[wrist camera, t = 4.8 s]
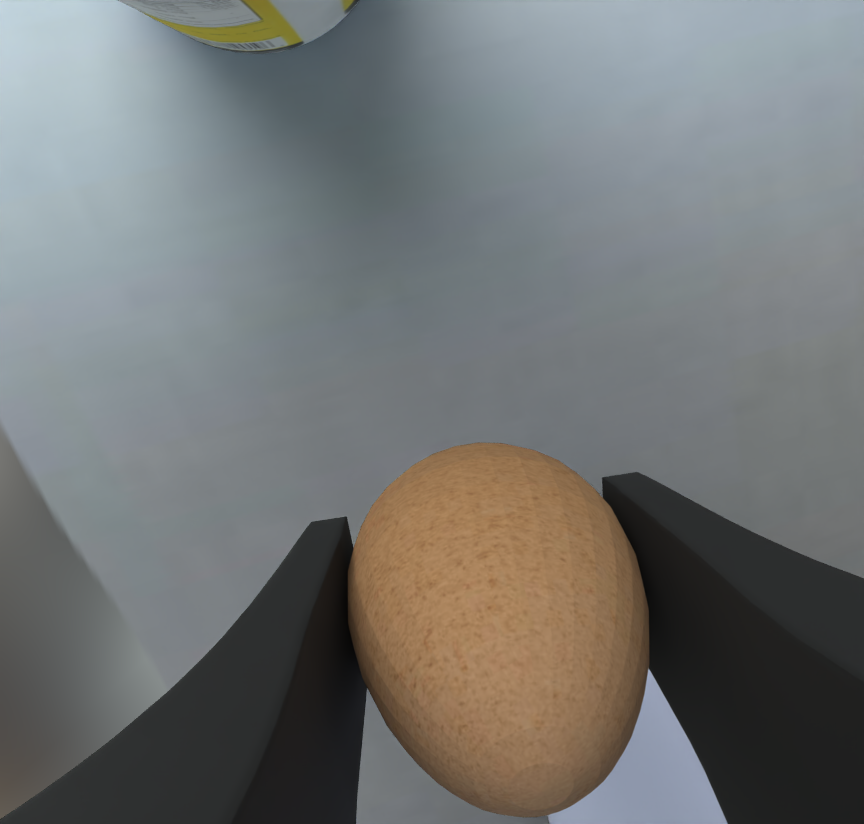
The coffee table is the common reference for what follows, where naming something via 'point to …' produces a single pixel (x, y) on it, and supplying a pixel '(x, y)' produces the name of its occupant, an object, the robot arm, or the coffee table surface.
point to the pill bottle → (248, 21)
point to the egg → (501, 626)
